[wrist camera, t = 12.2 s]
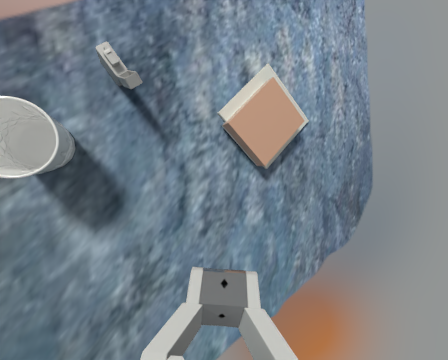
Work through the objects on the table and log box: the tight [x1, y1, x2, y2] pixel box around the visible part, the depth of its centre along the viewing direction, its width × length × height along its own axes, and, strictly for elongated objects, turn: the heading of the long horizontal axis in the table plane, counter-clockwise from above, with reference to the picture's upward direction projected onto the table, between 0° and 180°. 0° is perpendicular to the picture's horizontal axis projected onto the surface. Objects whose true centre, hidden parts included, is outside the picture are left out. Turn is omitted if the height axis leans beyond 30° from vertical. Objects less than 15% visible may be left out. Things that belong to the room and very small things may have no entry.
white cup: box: [0, 96, 76, 178], centre depth 27 cm, size 8×8×10 cm
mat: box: [218, 63, 309, 169], centre depth 43 cm, size 14×14×1 cm
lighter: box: [96, 42, 142, 89], centre depth 30 cm, size 7×2×8 cm, turn 37°
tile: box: [222, 77, 304, 166], centre depth 41 cm, size 3×10×12 cm
